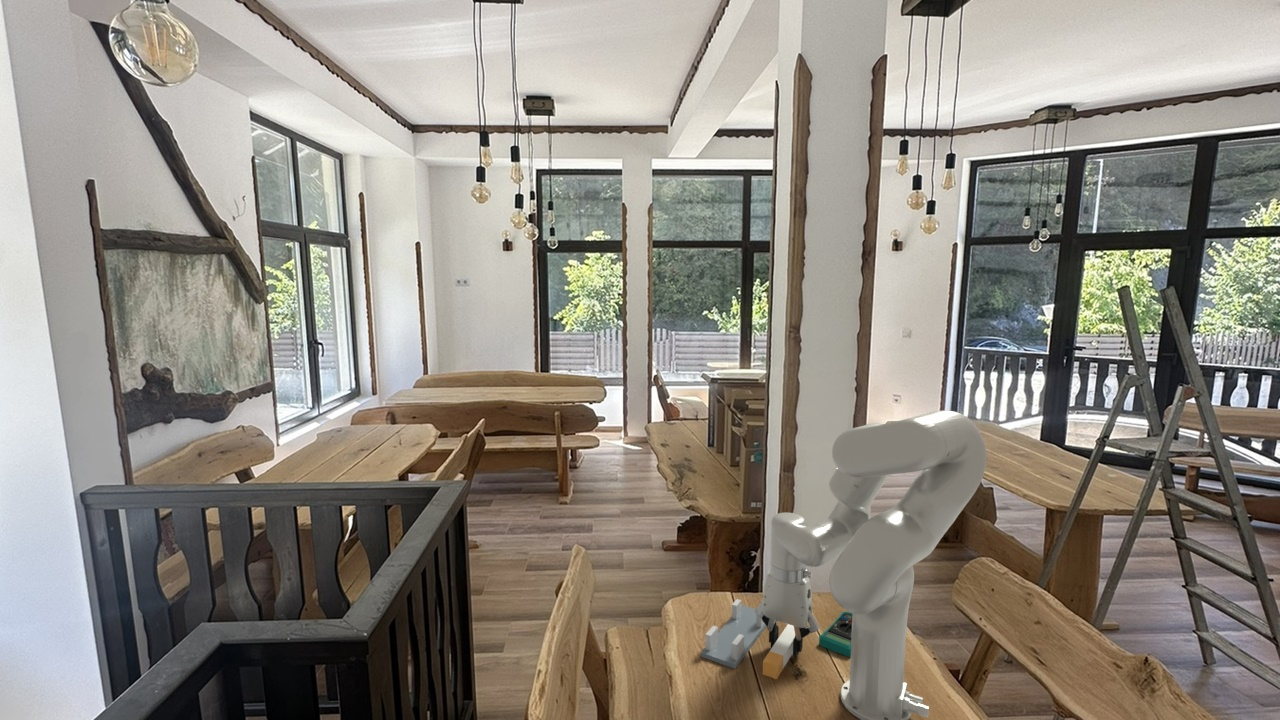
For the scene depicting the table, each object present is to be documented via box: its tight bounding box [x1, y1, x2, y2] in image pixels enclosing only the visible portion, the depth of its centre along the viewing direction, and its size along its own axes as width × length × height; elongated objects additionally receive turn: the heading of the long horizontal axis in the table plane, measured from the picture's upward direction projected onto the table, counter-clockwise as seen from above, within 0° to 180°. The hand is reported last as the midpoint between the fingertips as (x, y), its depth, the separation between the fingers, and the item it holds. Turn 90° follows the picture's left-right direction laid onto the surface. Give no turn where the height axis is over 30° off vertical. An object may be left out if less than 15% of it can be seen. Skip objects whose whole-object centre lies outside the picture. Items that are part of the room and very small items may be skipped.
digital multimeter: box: [818, 611, 853, 658], centre depth 134 cm, size 7×15×3 cm, turn 140°
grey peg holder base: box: [700, 598, 767, 670], centre depth 134 cm, size 8×23×4 cm, turn 148°
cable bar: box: [762, 624, 795, 680], centre depth 129 cm, size 3×20×3 cm, turn 148°
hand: (785, 648), depth 129 cm, fingers open, 4 cm apart
